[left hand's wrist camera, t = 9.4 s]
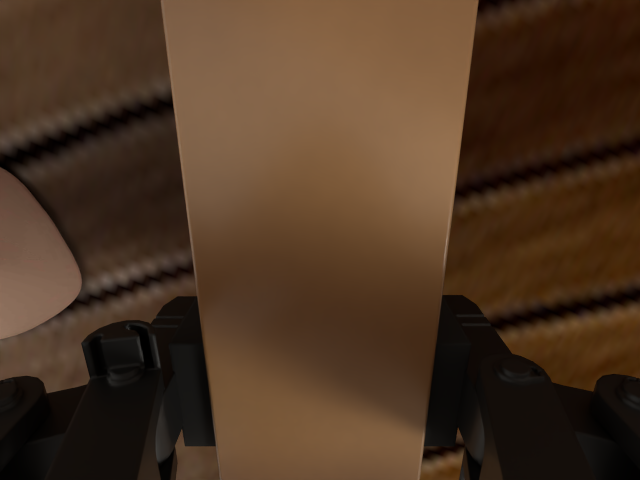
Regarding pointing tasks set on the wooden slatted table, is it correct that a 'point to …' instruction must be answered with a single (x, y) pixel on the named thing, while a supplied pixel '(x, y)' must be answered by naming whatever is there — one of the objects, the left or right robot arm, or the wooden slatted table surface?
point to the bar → (319, 221)
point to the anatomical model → (31, 262)
